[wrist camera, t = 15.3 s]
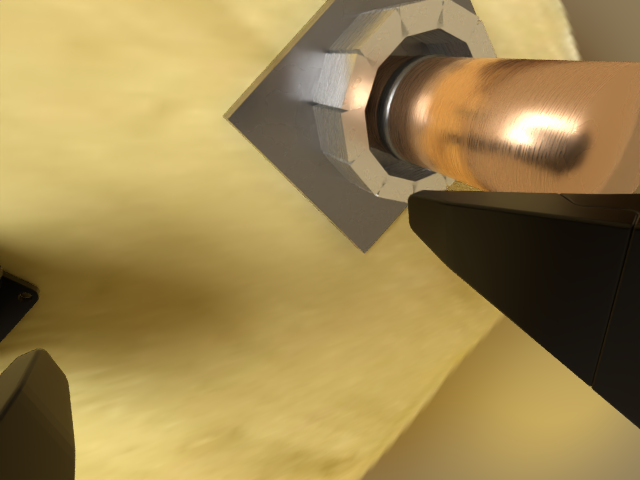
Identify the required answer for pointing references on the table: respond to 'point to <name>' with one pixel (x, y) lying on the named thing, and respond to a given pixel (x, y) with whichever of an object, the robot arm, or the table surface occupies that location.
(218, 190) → the table surface
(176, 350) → the table surface
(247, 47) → the table surface
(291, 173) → the plate
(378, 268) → the table surface
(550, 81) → the tan cylinder
